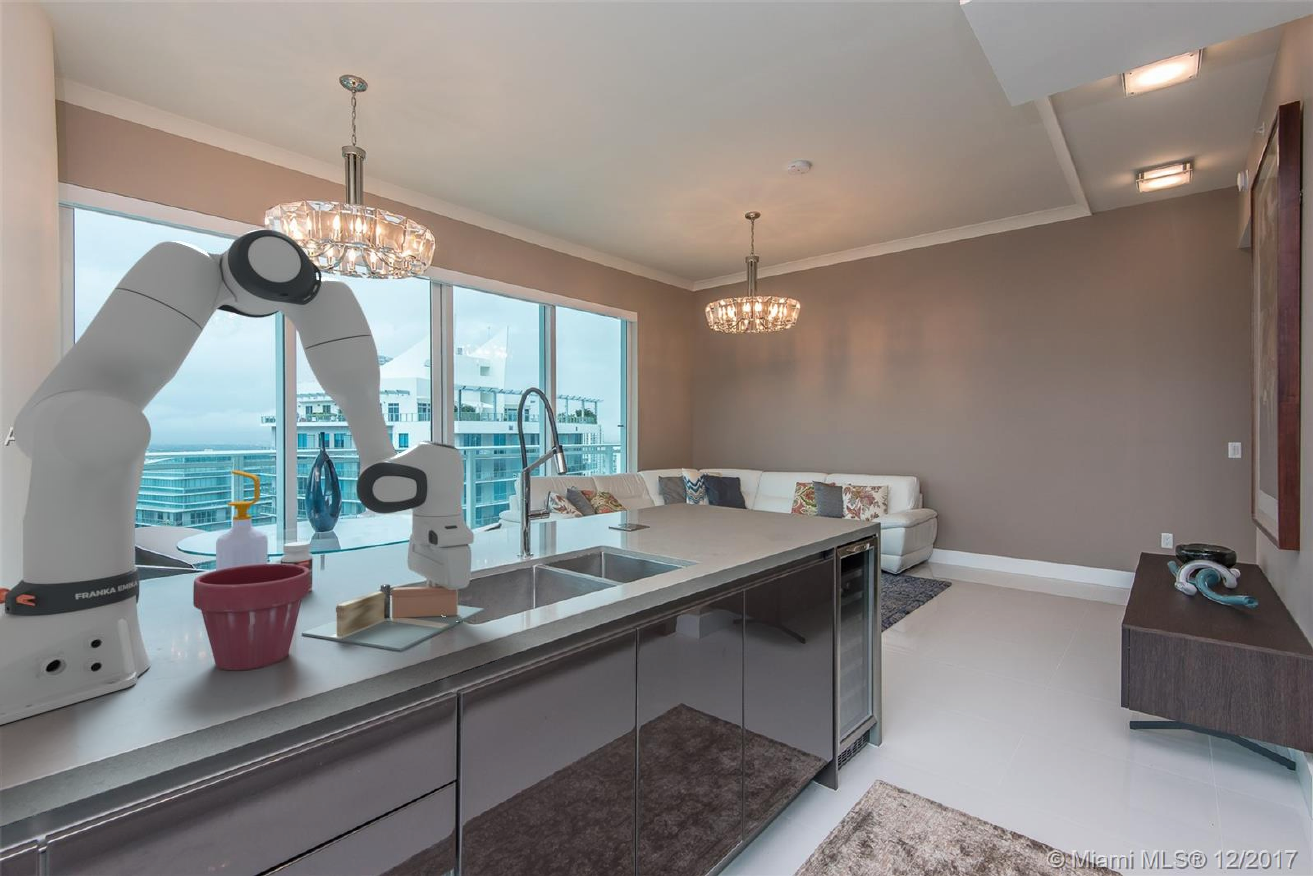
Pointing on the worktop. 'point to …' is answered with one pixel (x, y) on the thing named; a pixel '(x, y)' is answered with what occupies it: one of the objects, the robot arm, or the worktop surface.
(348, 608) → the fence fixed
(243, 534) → the soap bottle
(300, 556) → the pill bottle
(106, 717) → the worktop surface
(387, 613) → the fence post
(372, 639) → the board
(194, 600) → the plant pot
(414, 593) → the orange hinged panel
